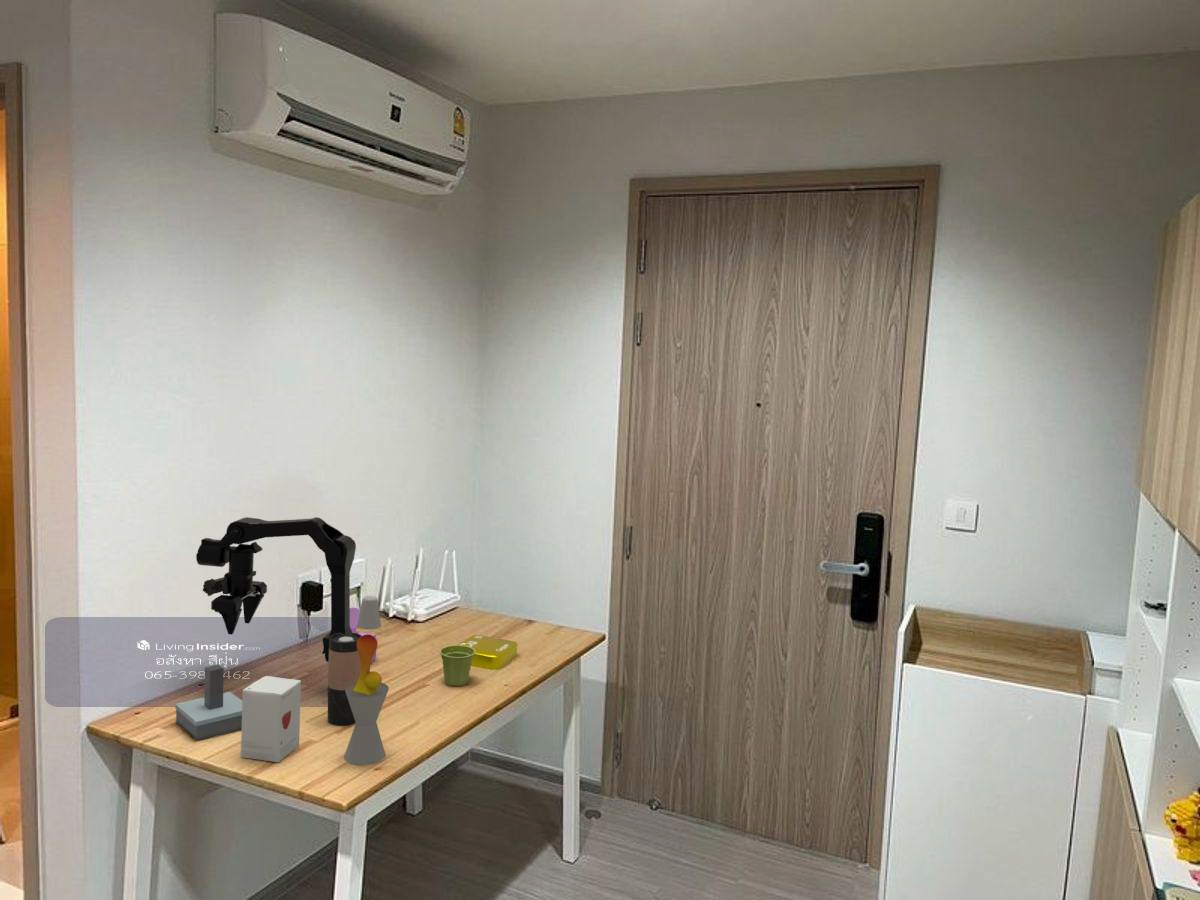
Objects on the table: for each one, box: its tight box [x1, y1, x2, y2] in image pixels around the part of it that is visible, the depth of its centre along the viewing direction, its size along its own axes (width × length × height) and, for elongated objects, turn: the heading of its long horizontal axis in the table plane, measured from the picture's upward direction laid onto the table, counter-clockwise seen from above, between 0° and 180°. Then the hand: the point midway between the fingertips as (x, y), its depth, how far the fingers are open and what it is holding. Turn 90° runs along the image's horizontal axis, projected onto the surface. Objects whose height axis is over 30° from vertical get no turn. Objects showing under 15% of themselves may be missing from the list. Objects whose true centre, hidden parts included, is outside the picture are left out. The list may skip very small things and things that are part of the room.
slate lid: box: [174, 664, 242, 726], centre depth 202 cm, size 12×12×11 cm
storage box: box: [175, 708, 242, 742], centre depth 203 cm, size 12×12×4 cm
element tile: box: [457, 634, 518, 671], centre depth 257 cm, size 15×15×5 cm
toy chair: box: [350, 607, 378, 664], centre depth 248 cm, size 8×9×15 cm
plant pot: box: [439, 644, 476, 687], centre depth 237 cm, size 9×9×9 cm
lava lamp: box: [343, 595, 390, 766], centre depth 191 cm, size 9×9×35 cm
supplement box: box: [240, 675, 302, 763], centre depth 191 cm, size 9×9×15 cm
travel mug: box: [327, 633, 361, 727], centre depth 209 cm, size 8×8×20 cm
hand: (239, 628), depth 226 cm, fingers open, 9 cm apart
